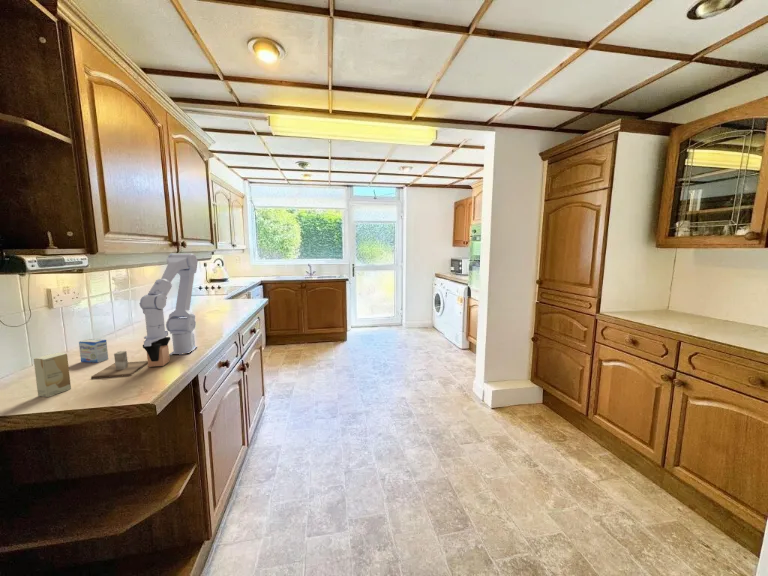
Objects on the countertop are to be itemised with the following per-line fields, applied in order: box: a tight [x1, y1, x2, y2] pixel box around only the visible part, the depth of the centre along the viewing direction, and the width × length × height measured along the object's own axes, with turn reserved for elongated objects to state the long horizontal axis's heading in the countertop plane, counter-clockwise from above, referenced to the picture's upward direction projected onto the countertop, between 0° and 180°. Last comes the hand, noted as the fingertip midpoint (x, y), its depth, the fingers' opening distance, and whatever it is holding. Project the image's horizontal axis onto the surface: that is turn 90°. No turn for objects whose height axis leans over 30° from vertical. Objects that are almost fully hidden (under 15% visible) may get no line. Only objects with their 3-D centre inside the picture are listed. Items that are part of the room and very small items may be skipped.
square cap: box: [146, 344, 170, 368], centre depth 120 cm, size 5×5×7 cm
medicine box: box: [78, 338, 109, 364], centre depth 124 cm, size 8×4×9 cm, turn 84°
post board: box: [90, 350, 148, 380], centre depth 115 cm, size 13×12×7 cm
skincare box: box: [33, 352, 72, 398], centre depth 97 cm, size 6×4×12 cm
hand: (158, 358), depth 120 cm, fingers closed on square cap, 5 cm apart
